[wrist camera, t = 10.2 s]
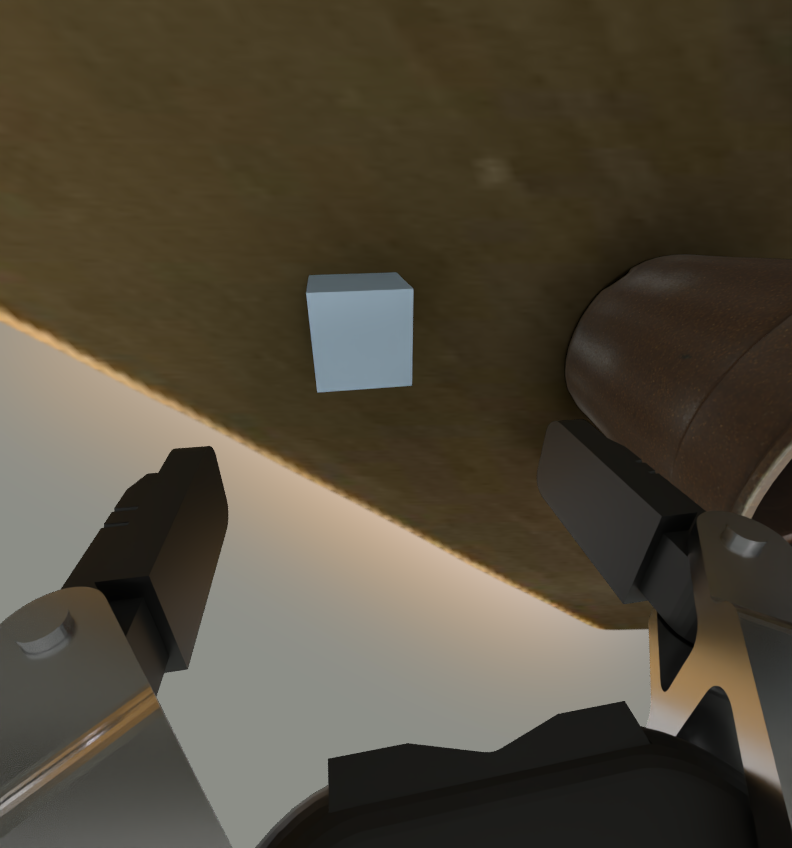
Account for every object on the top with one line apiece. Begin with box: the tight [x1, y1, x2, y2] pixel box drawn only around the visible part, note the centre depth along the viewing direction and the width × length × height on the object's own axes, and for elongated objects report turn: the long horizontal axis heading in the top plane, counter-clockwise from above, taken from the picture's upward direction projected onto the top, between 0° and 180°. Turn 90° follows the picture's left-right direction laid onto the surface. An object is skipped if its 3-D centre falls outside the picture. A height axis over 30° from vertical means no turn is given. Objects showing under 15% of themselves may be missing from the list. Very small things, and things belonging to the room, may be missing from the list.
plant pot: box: [565, 254, 792, 544], centre depth 21 cm, size 16×16×16 cm
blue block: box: [306, 272, 413, 392], centre depth 22 cm, size 5×5×5 cm
